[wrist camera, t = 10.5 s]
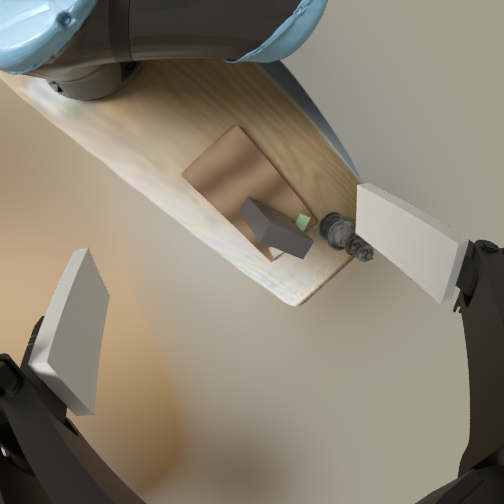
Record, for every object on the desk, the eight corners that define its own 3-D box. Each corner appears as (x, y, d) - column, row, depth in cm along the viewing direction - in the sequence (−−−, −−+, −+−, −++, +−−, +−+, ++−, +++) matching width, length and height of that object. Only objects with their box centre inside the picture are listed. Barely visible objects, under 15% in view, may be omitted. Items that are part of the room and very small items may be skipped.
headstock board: (181, 173, 38) (182, 176, 37) (234, 124, 37) (237, 124, 35) (268, 258, 48) (271, 262, 47) (312, 217, 47) (316, 220, 46)
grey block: (237, 212, 41) (259, 243, 32) (246, 195, 40) (271, 221, 32) (293, 236, 46) (324, 268, 37) (302, 221, 45) (335, 250, 36)
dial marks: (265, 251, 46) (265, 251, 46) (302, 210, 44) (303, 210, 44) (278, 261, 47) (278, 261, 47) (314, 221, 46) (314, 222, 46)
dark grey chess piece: (338, 204, 47) (381, 232, 37) (350, 227, 50) (391, 258, 40) (311, 224, 48) (350, 258, 38) (326, 247, 51) (363, 283, 41)
